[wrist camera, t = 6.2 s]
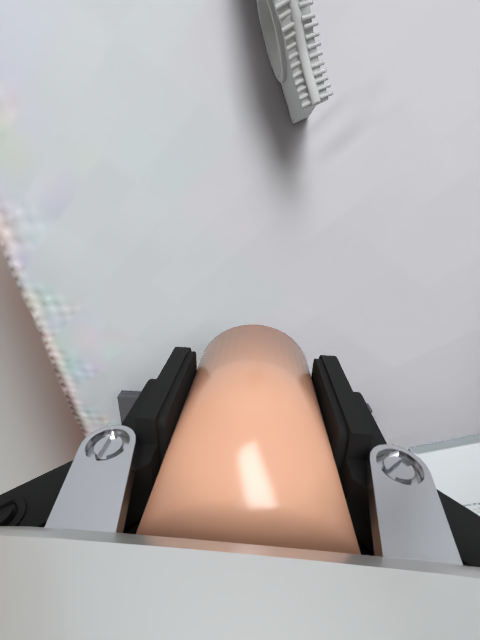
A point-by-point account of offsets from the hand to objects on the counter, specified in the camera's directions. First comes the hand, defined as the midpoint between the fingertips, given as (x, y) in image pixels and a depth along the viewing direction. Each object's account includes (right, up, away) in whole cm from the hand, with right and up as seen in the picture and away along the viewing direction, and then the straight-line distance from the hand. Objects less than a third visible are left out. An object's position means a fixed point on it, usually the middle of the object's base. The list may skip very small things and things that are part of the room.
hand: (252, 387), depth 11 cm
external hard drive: (+23, -15, +21) cm, 34 cm away
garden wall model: (+2, +21, +7) cm, 22 cm away
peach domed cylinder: (0, 0, +1) cm, 1 cm away
